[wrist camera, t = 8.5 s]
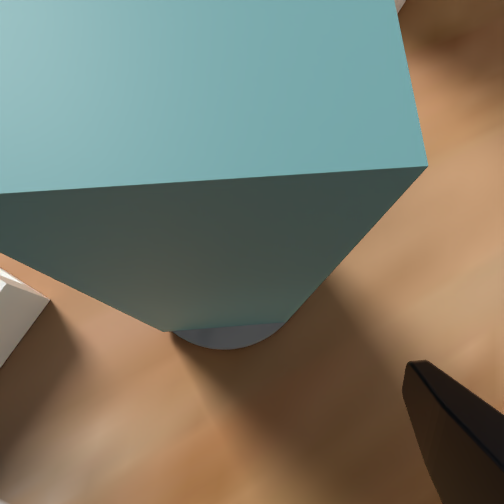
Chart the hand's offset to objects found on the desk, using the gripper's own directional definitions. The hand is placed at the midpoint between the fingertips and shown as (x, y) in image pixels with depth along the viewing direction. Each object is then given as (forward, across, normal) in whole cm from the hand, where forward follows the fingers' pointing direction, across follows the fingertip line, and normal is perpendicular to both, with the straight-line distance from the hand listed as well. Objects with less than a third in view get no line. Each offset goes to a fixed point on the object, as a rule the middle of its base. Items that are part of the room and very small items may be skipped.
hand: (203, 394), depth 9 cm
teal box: (+9, 0, +2) cm, 9 cm away
